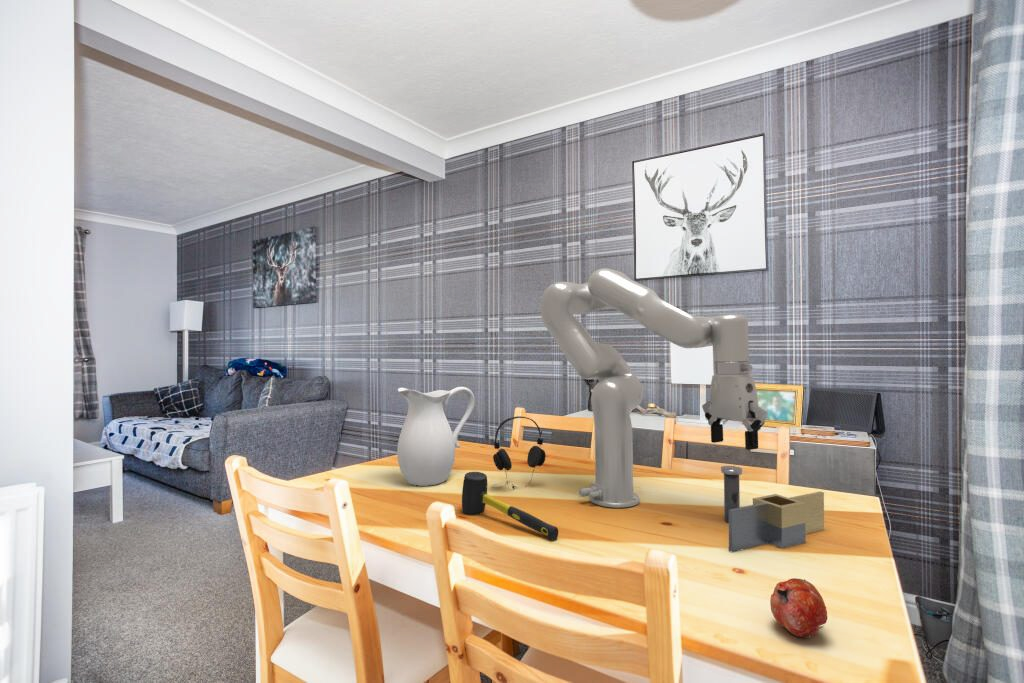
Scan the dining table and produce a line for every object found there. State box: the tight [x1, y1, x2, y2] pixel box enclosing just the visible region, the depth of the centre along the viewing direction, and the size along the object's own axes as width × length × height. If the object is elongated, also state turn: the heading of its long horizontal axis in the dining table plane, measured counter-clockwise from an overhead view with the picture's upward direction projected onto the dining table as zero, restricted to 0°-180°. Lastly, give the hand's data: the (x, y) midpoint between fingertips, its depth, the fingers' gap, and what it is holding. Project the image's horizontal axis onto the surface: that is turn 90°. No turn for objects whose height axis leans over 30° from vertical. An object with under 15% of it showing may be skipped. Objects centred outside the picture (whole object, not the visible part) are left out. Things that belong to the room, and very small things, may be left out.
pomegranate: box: [769, 577, 828, 638], centre depth 73 cm, size 7×7×10 cm
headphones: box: [492, 415, 547, 491], centre depth 146 cm, size 15×11×20 cm
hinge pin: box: [720, 465, 743, 524], centre depth 117 cm, size 4×4×12 cm
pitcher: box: [396, 386, 476, 487], centre depth 155 cm, size 24×17×28 cm
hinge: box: [728, 491, 825, 553], centre depth 106 cm, size 27×7×8 cm, turn 114°
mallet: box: [461, 471, 559, 541], centre depth 117 cm, size 29×6×10 cm, turn 45°
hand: (733, 445), depth 116 cm, fingers open, 9 cm apart
